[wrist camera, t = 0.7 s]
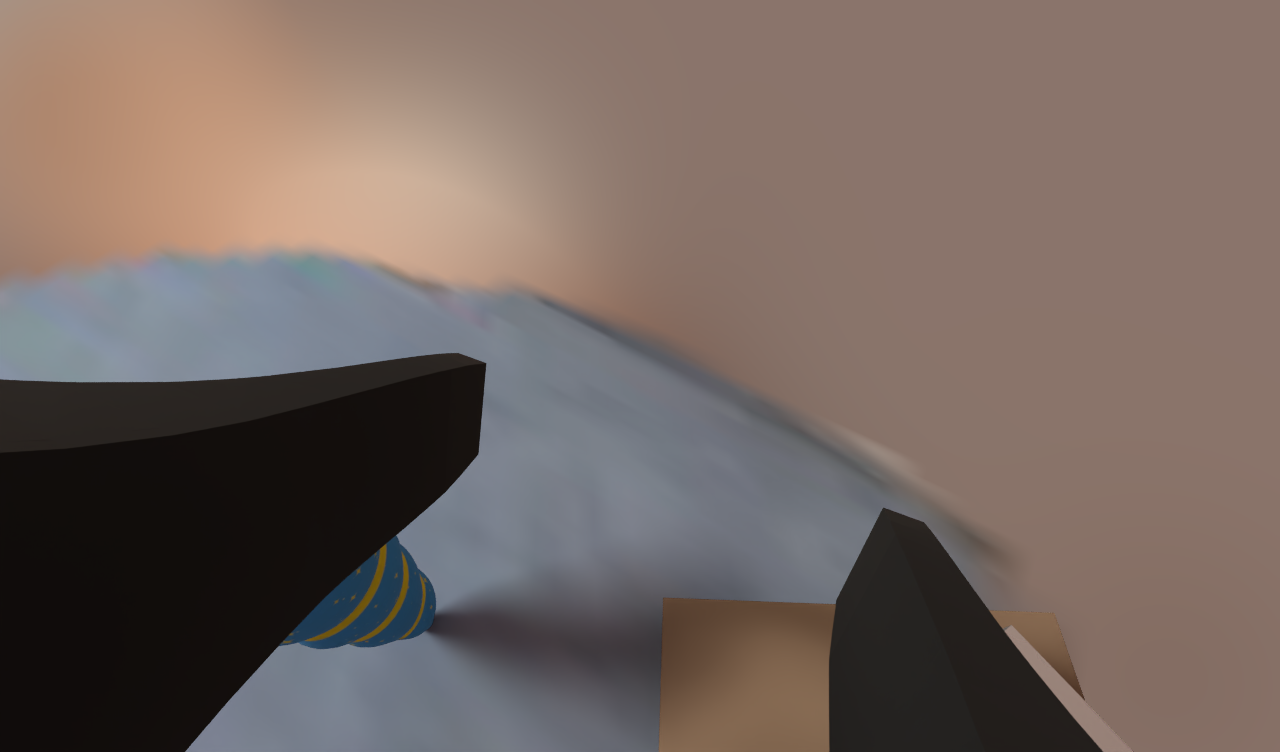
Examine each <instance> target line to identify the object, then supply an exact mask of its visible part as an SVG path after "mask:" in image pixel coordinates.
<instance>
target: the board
mask: <svg viewBox="0 0 1280 752" xmlns="http://www.w3.org/2000/svg"><path fill="white" fill-rule="evenodd" d="M835 607H836V604H811V603H786V602H760V601H734V600H709V599H683V598H663V623H662V658H661V693H660V728H659V752H829V655H830V646H831V637H832V629H833V622H834V614H835ZM989 611H990V610H989ZM990 613H991V614H992V615H993V617H994V618H995V619H996V621H997V622H998V623H999V625H1000V626H1001V627H1002V629H1003V628H1005V627H1008V626H1010V625H1012V626H1013V627H1014V628H1015V629H1016V630H1017V631H1018V632H1019V633H1020V634H1021V635H1022V636H1023V637H1024V638H1025V639H1026V640H1027V641H1028V642H1029V644H1030V645H1031V646H1032V647H1033V648H1034V649H1035V650H1036V651H1037V652H1038V653H1039V654H1040V655H1041V656H1042V657H1043V658H1044V659H1045V660H1046V661H1047V662H1048V663H1049V664H1050V665H1051V666H1052V667H1053V668H1054V669H1055V670H1056V672H1057V673H1058V674H1059V675H1060V676H1061V677H1062V678H1063V679H1064V680H1065V681H1066V682H1067V683H1068V684H1069V685H1070V686H1071V687H1072V688H1073V689H1074V690H1075V691H1076V692H1077V693H1078V694H1079V695H1080V696H1081V697H1082V698H1083V700H1084V701H1085V699H1084V696H1083V694H1082V691H1081V688H1080V685H1079V682H1078V679H1077V677H1076V674H1075V671H1074V668H1073V665H1072V662H1071V659H1070V657H1069V654H1068V651H1067V648H1066V645H1065V642H1064V639H1063V637H1062V634H1061V631H1060V628H1059V625H1058V622H1057V619H1056V617H1055V614H1054V613H1042V612H1016V611H990Z"/></svg>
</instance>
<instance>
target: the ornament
mask: <svg viewBox="0 0 1280 752" xmlns="http://www.w3.org/2000/svg"><path fill="white" fill-rule="evenodd" d="M435 610H436V598H435V592H434V589H433V586H432V584H431V582H430V581H429V579H428V578H427V577H426V575H425V574H424V573H423V572H421V571H420V570H419V569H418V568H417V565H416V563H415V561H414V560H413V558H412V556H411V555H410V554H409V552H408V551H407V550H406V549H405V548H404V547H403V546H402V545H401V544H400V543H399V540H398V538H397V536H395V537H393V538H392V539H391V540H390V541H389V542H388V543H386V544H385V545H384V546H383V547H382V548H381V549H379V550H378V551H377V552H376V553H375V554H374V555H372V556H371V557H370V558H369V559H368V560H367V561H365V562H364V563H363V564H362V565H361V566H360V567H358V568H357V569H356V570H355V571H354V572H353V573H351V574H350V575H349V576H348V577H347V578H346V579H345V580H344V581H342V582H341V583H340V584H339V585H338V586H337V587H336V588H335V589H334V590H333V591H332V592H331V593H330V594H328V595H327V596H326V597H325V598H324V599H323V600H322V601H321V602H320V603H319V604H318V605H317V607H316V608H315V609H314V610H313V611H312V612H311V613H310V614H309V615H308V616H307V617H306V618H305V619H304V620H303V621H302V622H301V623H300V624H299V625H298V626H297V627H296V628H295V629H294V630H293V631H292V632H291V633H290V635H289V636H288V637H287V638H286V639H285V640H284V641H283V642H282V643H281V644H280V645H279V646H282V645H289V644H294V643H298V642H299V643H300V644H302V645H305V646H308V647H311V648H316V649H328V648H335V647H340V646H343V645H346V644H350V645H353V646H357V647H376V646H380V645H384V644H387V643H390V642H393V641H396V640H403V639H410V638H414V637H416V636H418V635H420V634H422V633H423V632H424V631H426V630H427V629H429V628H430V627H431V625H432V624H433V620H434V614H435Z"/></svg>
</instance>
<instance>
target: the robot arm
mask: <svg viewBox="0 0 1280 752" xmlns="http://www.w3.org/2000/svg"><path fill="white" fill-rule="evenodd" d="M485 372H486V363H484V362H481V361H479V360H476V359H473V358H470V357H468V356H465V355H462V354H459V353H446V354H434V355H425V356H416V357H409V358H401V359H394V360H387V361H380V362H373V363H367V364H360V365H353V366H346V367H339V368H331V369H322V370H314V371H305V372H297V373H288V374H280V375H271V376H261V377H250V378H237V379H223V380H204V381H185V382H47V381H19V380H0V752H185V751H186V750H187V749H188V748H189V746H190V745H191V744H192V743H193V742H194V741H195V739H196V738H197V737H198V736H199V735H200V734H201V732H202V731H203V730H204V729H205V728H206V727H207V725H208V724H209V723H210V722H211V721H212V720H213V718H214V717H215V716H216V715H217V714H218V713H219V711H220V710H221V709H222V708H223V707H224V706H225V704H226V703H227V702H228V701H229V700H230V699H231V698H232V696H233V695H234V694H235V693H236V692H237V691H238V690H239V689H240V688H241V687H242V686H243V684H244V683H245V682H246V681H247V680H248V679H249V678H250V677H251V676H252V675H253V673H254V672H255V671H256V670H257V669H258V668H259V667H260V666H261V665H262V664H263V662H264V661H265V660H266V659H267V658H268V657H269V656H270V655H271V654H272V653H273V651H274V650H275V649H276V648H277V647H278V646H279V645H280V644H281V643H282V642H283V641H284V640H285V639H286V638H287V637H288V636H289V635H290V633H291V632H292V631H293V630H294V629H295V628H296V627H297V626H298V625H299V624H300V623H301V622H302V621H303V620H304V619H305V618H306V617H307V616H308V615H309V614H310V613H311V612H312V611H313V610H314V609H315V608H316V607H317V605H318V604H319V603H320V602H321V601H322V600H323V599H324V598H325V597H326V596H327V595H328V594H330V593H331V592H332V591H333V590H334V589H335V588H336V587H337V586H338V585H339V584H340V583H341V582H342V581H344V580H345V579H346V578H347V577H348V576H349V575H350V574H351V573H353V572H354V571H355V570H356V569H357V568H358V567H360V566H361V565H362V564H363V563H364V562H365V561H367V560H368V559H369V558H370V557H371V556H372V555H374V554H375V553H376V552H377V551H378V550H379V549H381V548H382V547H383V546H384V545H385V544H386V543H388V542H389V541H390V540H391V539H392V538H393V537H395V536H396V535H397V534H398V533H399V532H400V531H402V530H403V529H404V528H405V527H406V526H407V525H409V524H410V523H411V522H412V521H413V520H414V519H416V518H417V517H418V516H419V515H420V514H421V513H422V512H424V511H425V510H426V509H427V508H428V507H429V506H430V505H432V504H433V503H434V502H435V501H436V500H437V499H438V498H439V497H441V496H442V495H443V494H444V493H445V492H446V491H447V490H448V489H449V487H450V486H451V485H452V484H453V483H454V482H455V481H456V480H457V479H458V478H459V477H460V475H461V474H462V473H463V472H464V471H465V469H466V468H467V467H468V466H469V465H470V464H471V462H472V461H473V460H474V459H475V458H476V456H477V455H478V453H479V441H480V430H481V418H482V406H483V395H484V383H485ZM829 752H1103V751H1102V750H1101V748H1100V747H1099V746H1098V745H1097V744H1096V743H1095V742H1094V740H1093V739H1092V738H1091V737H1090V736H1089V735H1088V734H1087V732H1086V731H1085V730H1084V729H1083V728H1082V727H1081V726H1080V724H1079V723H1078V722H1077V721H1076V720H1075V718H1074V717H1073V716H1072V715H1071V714H1070V713H1069V711H1068V710H1067V709H1066V708H1065V706H1064V705H1063V704H1062V703H1061V702H1060V700H1059V699H1058V698H1057V697H1056V695H1055V694H1054V693H1053V692H1052V691H1051V689H1050V688H1049V687H1048V686H1047V684H1046V683H1045V682H1044V681H1043V680H1042V678H1041V677H1040V676H1039V675H1038V674H1037V672H1036V671H1035V670H1034V669H1033V667H1032V666H1031V665H1030V664H1029V662H1028V661H1027V660H1026V658H1025V657H1024V656H1023V655H1022V653H1021V652H1020V651H1019V649H1018V648H1017V647H1016V646H1015V644H1014V643H1013V642H1012V640H1011V639H1010V638H1009V637H1008V635H1007V634H1006V633H1005V631H1004V630H1003V629H1002V627H1001V626H1000V625H999V623H998V622H997V621H996V619H995V618H994V617H993V615H992V614H991V613H990V611H989V610H988V608H987V607H986V606H985V604H984V603H983V602H982V600H981V599H980V598H979V596H978V595H977V593H976V592H975V591H974V589H973V588H972V587H971V585H970V584H969V582H968V581H967V580H966V578H965V577H964V575H963V574H962V573H961V571H960V570H959V568H958V567H957V566H956V564H955V563H954V561H953V560H952V559H951V557H950V556H949V554H948V553H947V552H946V550H945V549H944V548H943V546H942V545H941V543H940V542H939V541H938V539H937V538H936V537H935V535H934V534H933V533H932V532H931V530H930V529H929V528H928V527H927V525H926V524H925V523H924V522H921V521H919V520H916V519H913V518H910V517H908V516H905V515H902V514H899V513H897V512H894V511H891V510H888V509H886V508H883V509H882V511H881V513H880V515H879V517H878V519H877V521H876V523H875V525H874V527H873V529H872V531H871V533H870V535H869V537H868V539H867V541H866V543H865V545H864V547H863V549H862V551H861V553H860V555H859V557H858V559H857V561H856V563H855V565H854V566H853V568H852V570H851V572H850V574H849V576H848V578H847V580H846V582H845V584H844V586H843V588H842V590H841V592H840V594H839V596H838V598H837V600H836V607H835V614H834V622H833V629H832V637H831V646H830V655H829Z"/></svg>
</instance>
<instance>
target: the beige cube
mask: <svg viewBox="0 0 1280 752" xmlns="http://www.w3.org/2000/svg"><path fill="white" fill-rule="evenodd" d="M1003 630H1004V631H1005V633H1006V634H1007V635H1008V637H1009V638H1010V639H1011V640H1012V642H1013V643H1014V644H1015V646H1016V647H1017V648H1018V649H1019V651H1020V652H1021V653H1022V655H1023V656H1024V657H1025V658H1026V660H1027V661H1028V662H1029V664H1030V665H1031V666H1032V667H1033V669H1034V670H1035V671H1036V672H1037V674H1038V675H1039V676H1040V677H1041V678H1042V680H1043V681H1044V682H1045V683H1046V684H1047V686H1048V687H1049V688H1050V689H1051V691H1052V692H1053V693H1054V694H1055V695H1056V697H1057V698H1058V699H1059V700H1060V702H1061V703H1062V704H1063V705H1064V706H1065V708H1066V709H1067V710H1068V711H1069V713H1070V714H1071V715H1072V716H1073V717H1074V718H1075V720H1076V721H1077V722H1078V723H1079V724H1080V726H1081V727H1082V728H1083V729H1084V730H1085V731H1086V732H1087V734H1088V735H1089V736H1090V737H1091V738H1092V739H1093V740H1094V742H1095V743H1096V744H1097V745H1098V746H1099V747H1100V748H1101V750H1102V751H1103V752H1134V751H1133V750H1132V749H1131V748H1130V747H1129V746H1128V745H1127V744H1126V743H1125V742H1124V741H1123V740H1122V739H1121V738H1120V737H1119V736H1118V735H1117V734H1116V733H1115V732H1114V731H1113V730H1112V729H1111V727H1110V726H1109V725H1108V724H1107V723H1106V722H1105V721H1104V720H1103V719H1102V718H1101V717H1100V716H1099V715H1098V714H1097V713H1096V712H1095V711H1094V710H1093V709H1092V708H1091V707H1090V706H1089V705H1088V704H1087V703H1086V702H1085V701H1084V700H1083V698H1082V697H1081V696H1080V695H1079V694H1078V693H1077V692H1076V691H1075V690H1074V689H1073V688H1072V687H1071V686H1070V685H1069V684H1068V683H1067V682H1066V681H1065V680H1064V679H1063V678H1062V677H1061V676H1060V675H1059V674H1058V673H1057V672H1056V670H1055V669H1054V668H1053V667H1052V666H1051V665H1050V664H1049V663H1048V662H1047V661H1046V660H1045V659H1044V658H1043V657H1042V656H1041V655H1040V654H1039V653H1038V652H1037V651H1036V650H1035V649H1034V648H1033V647H1032V646H1031V645H1030V644H1029V642H1028V641H1027V640H1026V639H1025V638H1024V637H1023V636H1022V635H1021V634H1020V633H1019V632H1018V631H1017V630H1016V629H1015V628H1014V627H1013V626H1012V625H1010V626H1008V627H1005V628H1003Z"/></svg>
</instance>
